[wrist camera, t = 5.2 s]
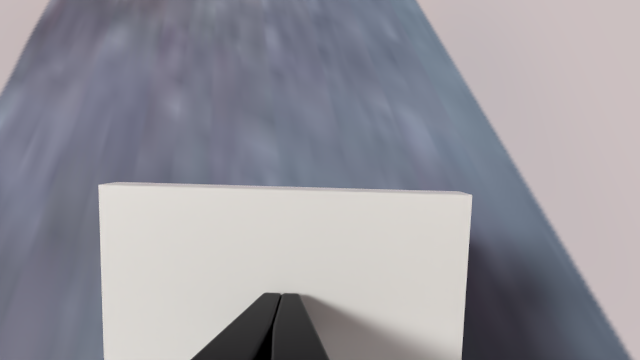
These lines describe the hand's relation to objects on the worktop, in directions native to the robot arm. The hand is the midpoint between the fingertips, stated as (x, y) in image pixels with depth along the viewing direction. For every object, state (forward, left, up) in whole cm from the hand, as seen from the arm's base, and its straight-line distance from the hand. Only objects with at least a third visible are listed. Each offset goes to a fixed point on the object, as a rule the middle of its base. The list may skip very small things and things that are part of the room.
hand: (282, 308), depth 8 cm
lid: (0, 0, -1) cm, 1 cm away
